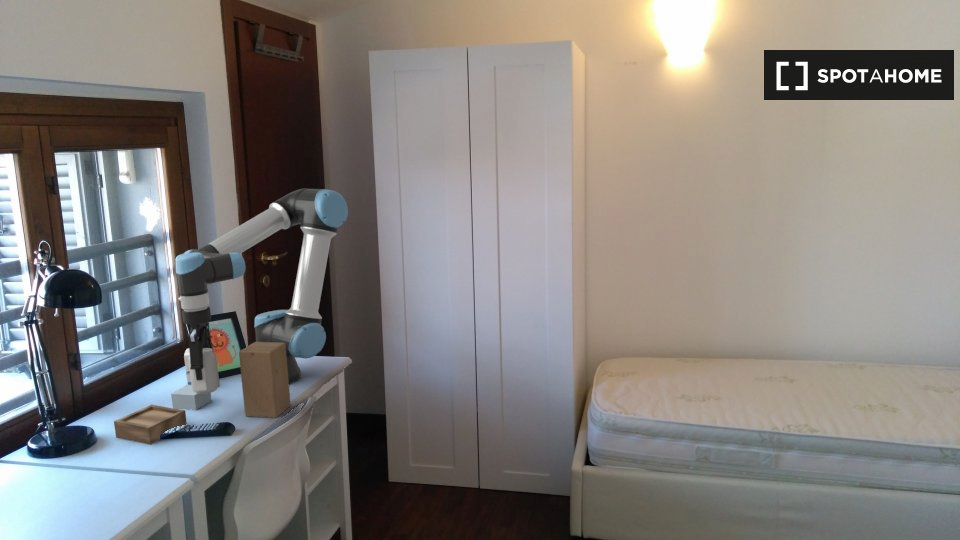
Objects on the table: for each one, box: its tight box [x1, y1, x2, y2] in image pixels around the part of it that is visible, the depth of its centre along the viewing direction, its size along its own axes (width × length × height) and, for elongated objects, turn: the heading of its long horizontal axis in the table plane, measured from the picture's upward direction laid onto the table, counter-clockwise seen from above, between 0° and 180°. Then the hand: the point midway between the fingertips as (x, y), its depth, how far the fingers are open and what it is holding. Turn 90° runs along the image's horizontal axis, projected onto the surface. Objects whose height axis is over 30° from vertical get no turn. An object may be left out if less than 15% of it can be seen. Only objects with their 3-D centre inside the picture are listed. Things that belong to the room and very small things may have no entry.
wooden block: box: [238, 341, 291, 419], centre depth 221 cm, size 10×10×20 cm
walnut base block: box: [113, 404, 188, 445], centre depth 210 cm, size 13×13×5 cm
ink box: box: [183, 347, 192, 385], centre depth 247 cm, size 9×5×12 cm, turn 13°
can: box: [188, 348, 221, 394], centre depth 215 cm, size 8×8×12 cm
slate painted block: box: [170, 384, 212, 411], centre depth 230 cm, size 8×8×5 cm
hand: (205, 384), depth 216 cm, fingers closed on can, 7 cm apart
